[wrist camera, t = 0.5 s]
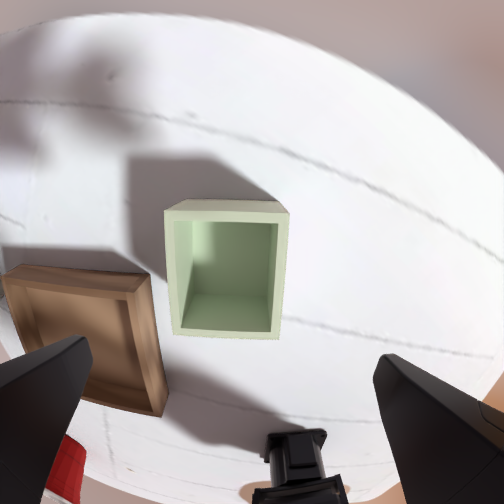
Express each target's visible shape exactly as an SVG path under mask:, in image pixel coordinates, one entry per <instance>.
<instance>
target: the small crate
mask: <svg viewBox="0 0 504 504" xmlns="http://www.w3.org/2000/svg"><path fill="white" fill-rule="evenodd" d="M289 216H290V213H289V212H288V211H287V210H286V209H285V208H284V206H283V205H282V204H281V203H280V202H279V201H262V200H231V199H185V200H183V201H181V202H179V203H177V204H175V205H174V206H172V207H170V208H168V209H166V210H164V231H165V252H166V268H167V281H168V293H169V303H170V313H171V322H172V330H173V335H183V336H195V337H210V338H230V339H262V340H279V336H280V326H281V316H282V305H283V294H284V283H285V271H286V259H287V245H288V231H289Z"/></svg>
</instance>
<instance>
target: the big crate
mask: <svg viewBox="0 0 504 504" xmlns="http://www.w3.org/2000/svg"><path fill="white" fill-rule="evenodd" d="M0 277H1V281H2V285H3V289H4V293H5V296H6V300H7V303H8V306H9V310H10V313H11V316H12V319H13V322H14V325H15V328H16V330H17V333H18V336H19V339H20V341H21V344H22V346H23V349H24V351H25V353H26V354H27V353H30V352H32V351H35V350H37V349H40V348H42V347H45V346H47V345H50V344H52V343H55V342H57V341H60V340H62V339H65V338H67V337H69V336H72V335H75V334H77V335H81V336H85V337H86V338H87V339H88V342H89V346H90V349H91V353H92V356H93V365H92V368H91V370H90V373H89V376H88V378H87V381H86V384H85V387H84V390H83V393H82V396H81V398H80V399H83V400H86V401H89V402H93V403H96V404H100V405H104V406H107V407H111V408H115V409H120V410H124V411H129V412H133V413H138V414H143V415H149V416H154V417H160V418H161V417H162V414H163V410H164V407H165V404H166V401H167V398H168V395H169V392H168V387H167V382H166V377H165V372H164V367H163V362H162V357H161V351H160V345H159V339H158V333H157V326H156V319H155V312H154V304H153V296H152V287H151V278H150V274H138V273H122V272H108V271H94V270H81V269H68V268H57V267H46V266H35V265H25V264H21V265H19V266H17V267H16V268H14V269H12V270H10V271H9V272H7V273H5V274H3V275H2V276H0Z"/></svg>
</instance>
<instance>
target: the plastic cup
mask: <svg viewBox="0 0 504 504" xmlns="http://www.w3.org/2000/svg"><path fill="white" fill-rule="evenodd" d="M85 460H86V450H85V449H84V448H83V447H82V446H81V445H80V444H79V443H78V442H76V441H75V440H74V439H72V438H70V437H68V436H67V435H65V436H64V438H63V440H62V443H61V445H60V448H59V450H58V453H57V455H56V458H55V461H54V463H53V466H52V469H51V472H50V474H49V477H48V480H47V483H46V486H45V489H44V492H43V494H44V495H45V496H47V497H49V498H50V499H52V500H54V501H56V502H58V503H60V504H80V491H81V484H82V478H83V473H84V465H85Z"/></svg>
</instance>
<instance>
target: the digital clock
mask: <svg viewBox="0 0 504 504" xmlns="http://www.w3.org/2000/svg"><path fill="white" fill-rule="evenodd" d="M4 294H5V293H4V289H3V285H2V281H1V279H0V299H1V298H2V296H3V295H4Z"/></svg>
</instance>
